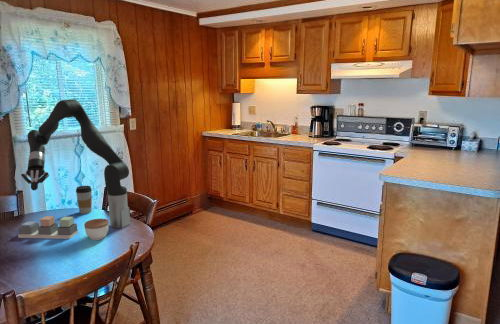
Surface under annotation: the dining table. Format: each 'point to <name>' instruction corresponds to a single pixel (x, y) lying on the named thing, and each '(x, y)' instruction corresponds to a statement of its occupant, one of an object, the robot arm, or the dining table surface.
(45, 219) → the terracotta key
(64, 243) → the dining table surface
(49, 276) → the dining table surface
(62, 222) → the sage key
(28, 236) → the keypad board
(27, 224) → the slate key
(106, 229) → the lidded jar
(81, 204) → the coffee cup
